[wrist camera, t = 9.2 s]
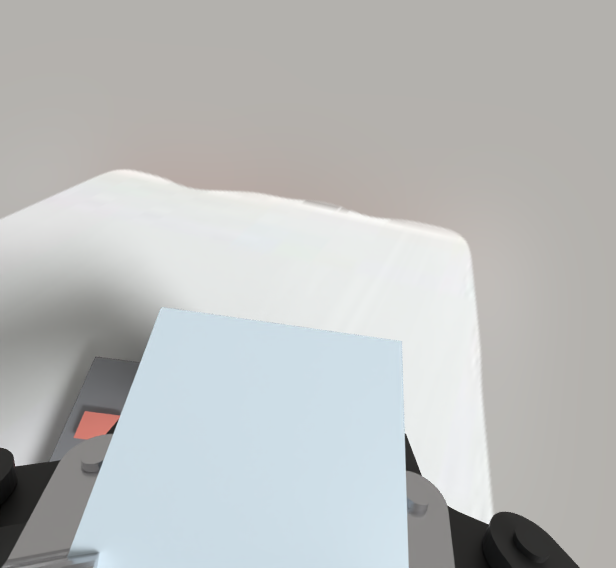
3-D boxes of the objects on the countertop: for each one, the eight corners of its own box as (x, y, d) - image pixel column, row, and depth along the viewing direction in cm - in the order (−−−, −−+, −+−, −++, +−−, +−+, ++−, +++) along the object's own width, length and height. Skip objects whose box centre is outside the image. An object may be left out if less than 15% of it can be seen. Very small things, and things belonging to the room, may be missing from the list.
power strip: (61, 496, 21) (21, 505, 18) (114, 365, 25) (89, 353, 22) (346, 530, 22) (359, 545, 18) (352, 397, 26) (363, 389, 23)
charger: (205, 508, 12) (26, 664, 4) (231, 388, 15) (163, 299, 6) (315, 522, 12) (412, 708, 4) (326, 401, 15) (401, 333, 6)
